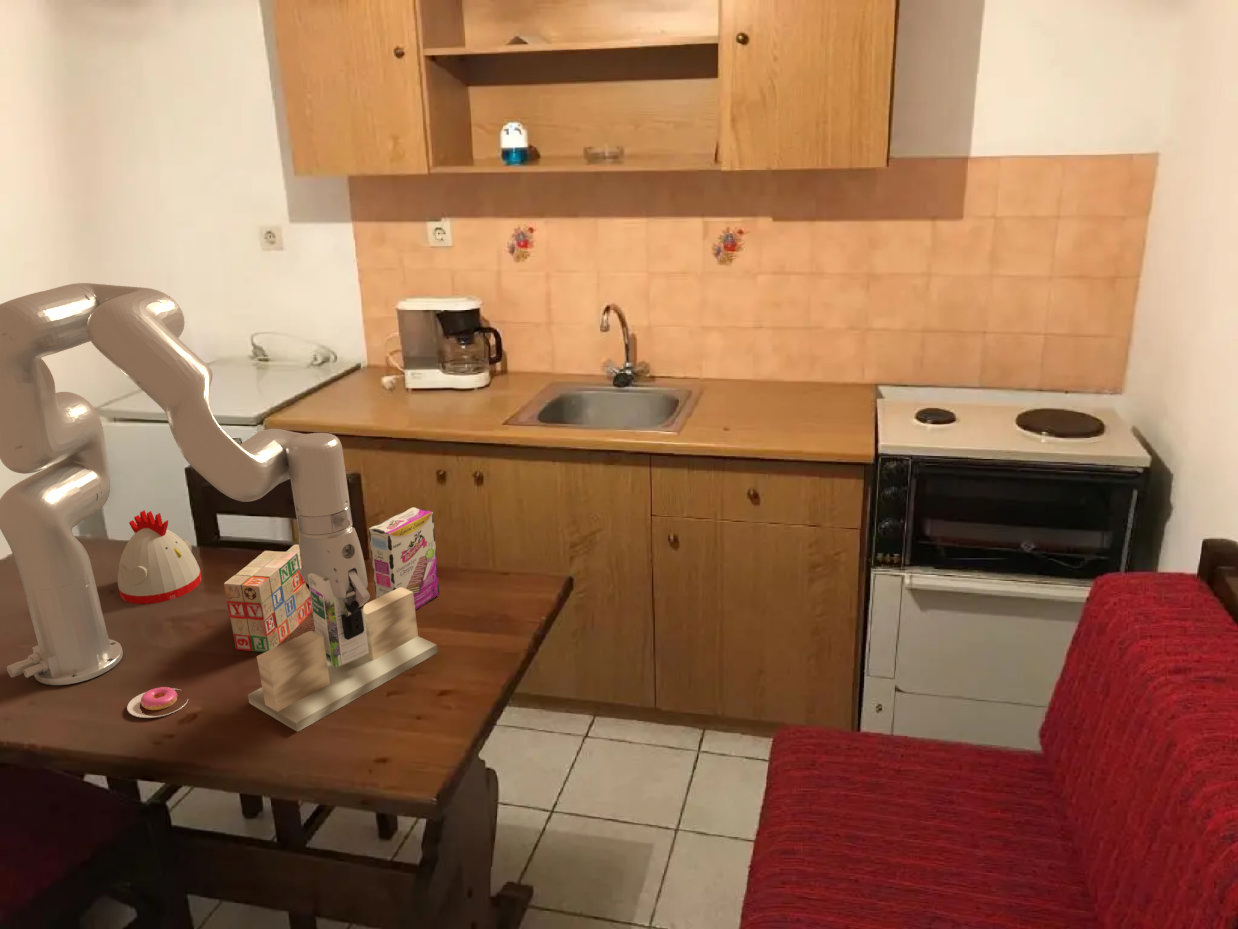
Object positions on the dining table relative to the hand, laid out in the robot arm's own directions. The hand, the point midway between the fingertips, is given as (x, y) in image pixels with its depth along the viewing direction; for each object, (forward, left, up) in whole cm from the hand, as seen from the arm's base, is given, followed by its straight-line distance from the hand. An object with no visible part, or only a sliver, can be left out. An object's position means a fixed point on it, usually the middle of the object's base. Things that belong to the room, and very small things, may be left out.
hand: (340, 628), depth 148 cm
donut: (-23, +17, -9) cm, 30 cm away
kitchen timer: (-1, +54, -9) cm, 55 cm away
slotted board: (0, 0, -9) cm, 9 cm away
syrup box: (0, 0, -5) cm, 5 cm away
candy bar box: (+21, +10, -9) cm, 25 cm away
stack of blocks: (+5, +24, -9) cm, 26 cm away
